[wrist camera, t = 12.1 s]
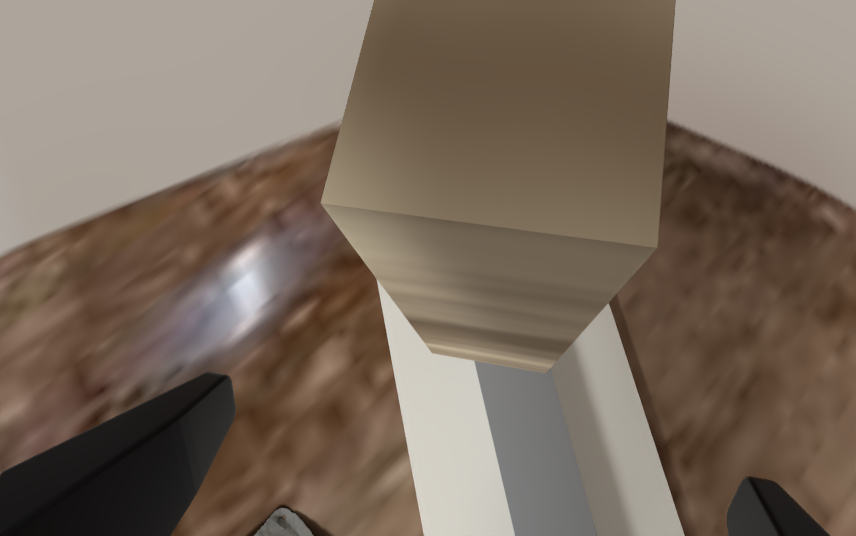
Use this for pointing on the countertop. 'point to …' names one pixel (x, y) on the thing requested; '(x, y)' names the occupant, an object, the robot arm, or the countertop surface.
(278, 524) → the driftwood
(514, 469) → the ridge stand
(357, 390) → the countertop surface
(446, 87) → the brass post
